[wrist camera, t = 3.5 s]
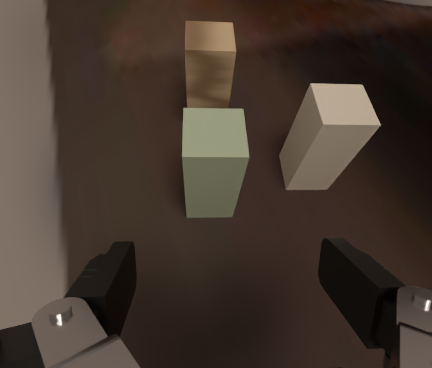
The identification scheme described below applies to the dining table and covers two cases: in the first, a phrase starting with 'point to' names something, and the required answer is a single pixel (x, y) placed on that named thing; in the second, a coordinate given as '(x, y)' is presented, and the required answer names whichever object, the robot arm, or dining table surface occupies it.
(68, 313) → the robot arm
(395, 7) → the dining table surface
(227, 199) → the sage block
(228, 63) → the oak block
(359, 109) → the cream block
